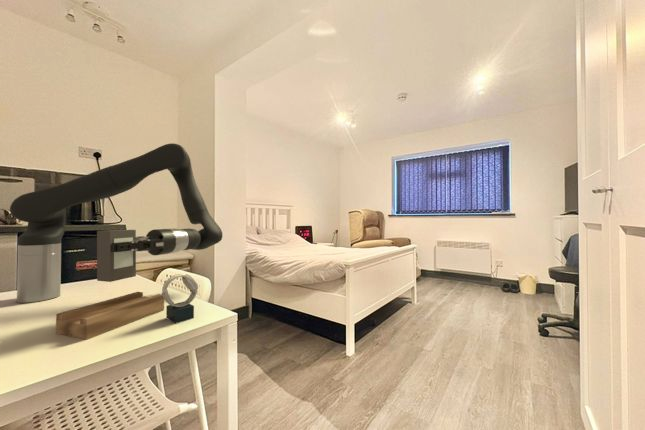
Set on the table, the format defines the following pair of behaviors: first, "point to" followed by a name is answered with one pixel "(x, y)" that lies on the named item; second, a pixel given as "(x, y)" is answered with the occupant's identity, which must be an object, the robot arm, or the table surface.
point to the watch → (182, 309)
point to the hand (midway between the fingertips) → (105, 247)
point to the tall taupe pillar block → (115, 256)
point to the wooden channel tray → (107, 315)
